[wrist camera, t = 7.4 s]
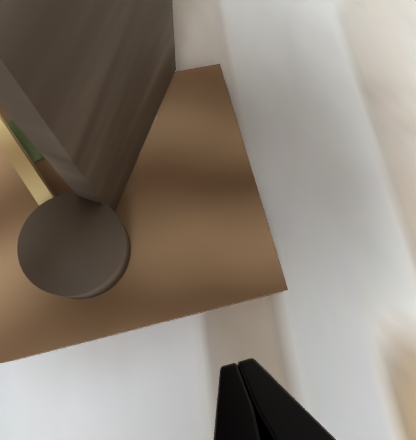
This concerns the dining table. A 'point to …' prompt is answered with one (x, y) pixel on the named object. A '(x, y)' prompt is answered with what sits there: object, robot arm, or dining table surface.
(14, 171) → the dial plate
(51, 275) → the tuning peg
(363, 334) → the dining table surface
